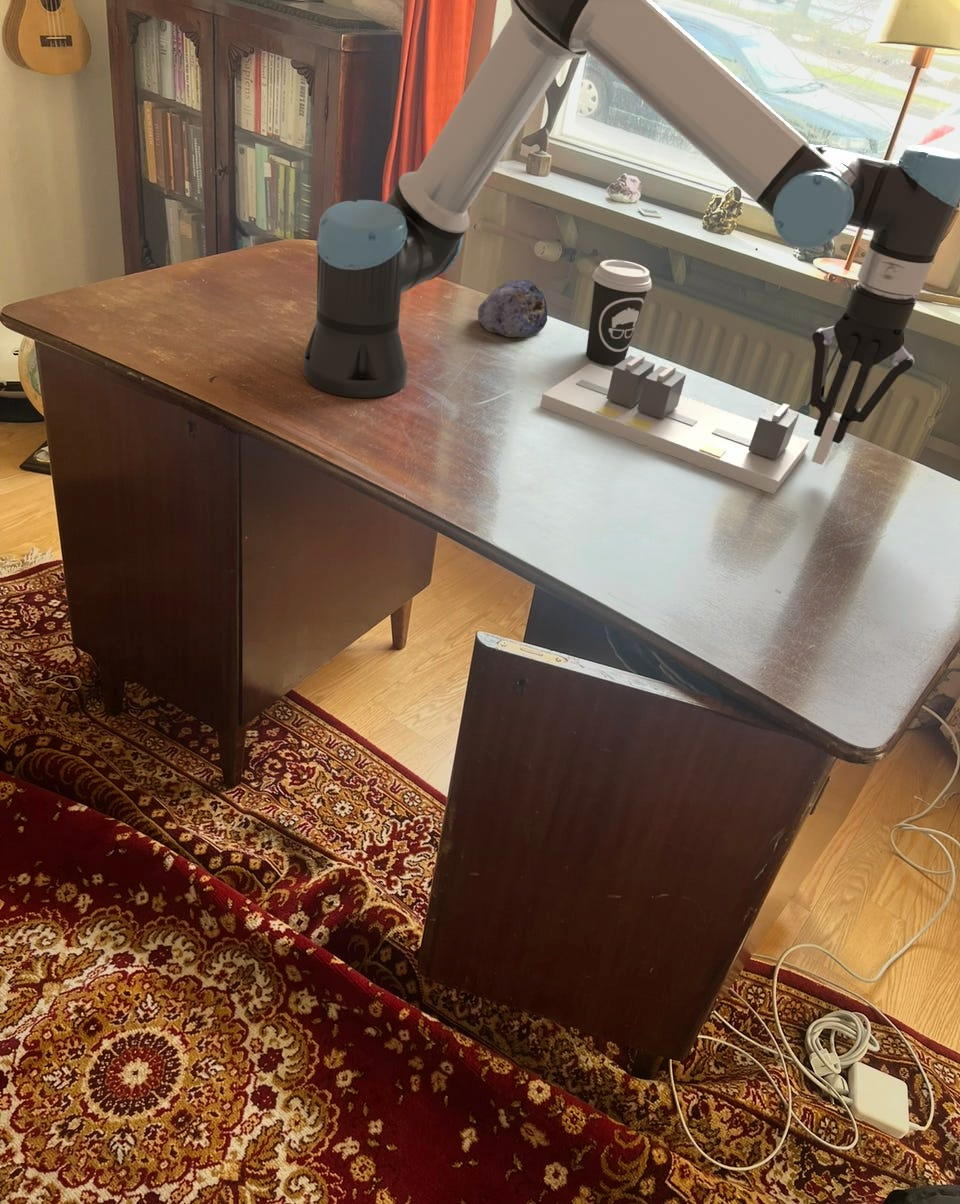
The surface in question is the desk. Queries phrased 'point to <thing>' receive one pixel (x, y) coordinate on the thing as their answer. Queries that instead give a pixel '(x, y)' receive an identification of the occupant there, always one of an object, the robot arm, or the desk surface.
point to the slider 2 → (661, 391)
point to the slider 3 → (773, 431)
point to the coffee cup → (615, 309)
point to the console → (676, 430)
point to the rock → (514, 310)
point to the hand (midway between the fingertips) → (819, 459)
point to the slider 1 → (629, 380)
